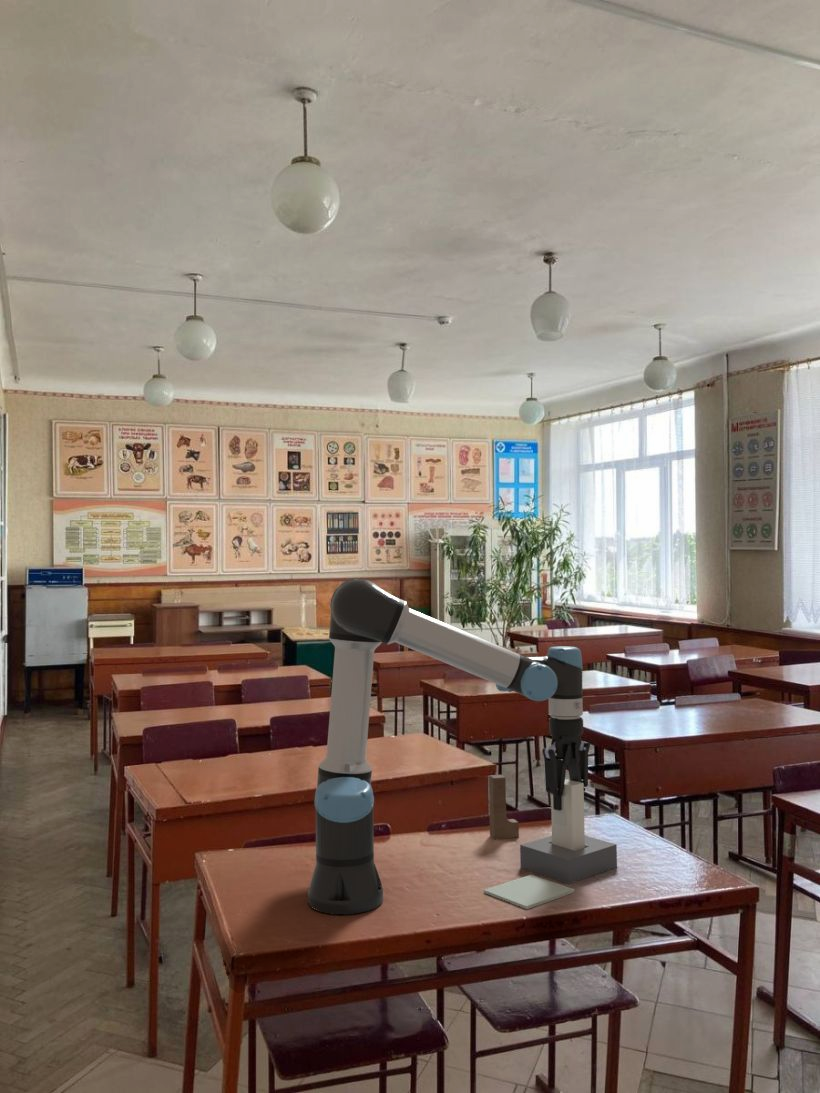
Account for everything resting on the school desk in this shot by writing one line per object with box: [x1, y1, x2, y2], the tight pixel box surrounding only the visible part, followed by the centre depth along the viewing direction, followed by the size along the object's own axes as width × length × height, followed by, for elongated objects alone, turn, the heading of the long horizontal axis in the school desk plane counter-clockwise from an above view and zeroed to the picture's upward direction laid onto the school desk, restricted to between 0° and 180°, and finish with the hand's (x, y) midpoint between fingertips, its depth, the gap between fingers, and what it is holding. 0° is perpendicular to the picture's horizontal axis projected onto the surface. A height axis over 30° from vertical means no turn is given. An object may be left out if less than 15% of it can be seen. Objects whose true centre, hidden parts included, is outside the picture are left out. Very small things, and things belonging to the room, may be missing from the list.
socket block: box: [519, 835, 618, 885], centre depth 199 cm, size 16×14×5 cm
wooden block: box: [488, 774, 520, 840], centre depth 223 cm, size 7×3×15 cm, turn 106°
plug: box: [550, 778, 586, 851], centre depth 199 cm, size 4×6×16 cm, turn 39°
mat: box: [483, 874, 575, 910], centre depth 184 cm, size 14×12×1 cm
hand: (567, 822), depth 199 cm, fingers closed on plug, 4 cm apart
